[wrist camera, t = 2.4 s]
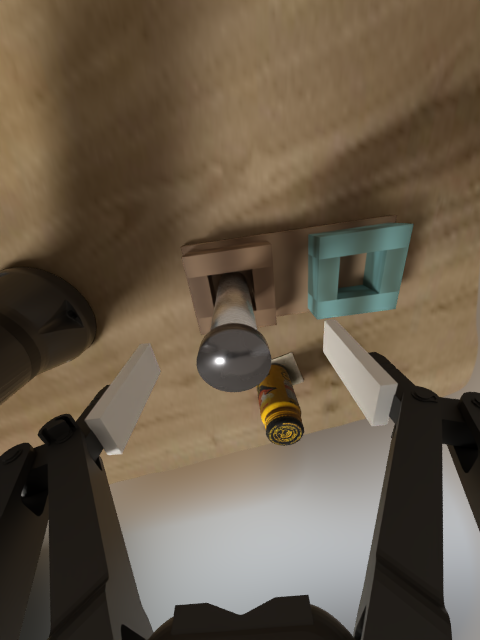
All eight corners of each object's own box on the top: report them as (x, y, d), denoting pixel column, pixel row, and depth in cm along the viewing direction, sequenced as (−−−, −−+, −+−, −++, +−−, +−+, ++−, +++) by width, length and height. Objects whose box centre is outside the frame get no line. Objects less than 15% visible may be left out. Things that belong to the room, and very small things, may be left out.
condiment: (247, 368, 39) (253, 427, 28) (291, 351, 37) (315, 406, 27) (262, 394, 42) (272, 457, 31) (303, 380, 40) (329, 440, 30)
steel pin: (219, 302, 31) (205, 395, 15) (212, 269, 29) (188, 337, 13) (252, 298, 31) (273, 387, 15) (248, 264, 29) (268, 327, 13)
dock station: (201, 323, 34) (196, 340, 30) (182, 245, 29) (173, 251, 24) (376, 299, 33) (399, 313, 29) (390, 215, 28) (422, 215, 23)
